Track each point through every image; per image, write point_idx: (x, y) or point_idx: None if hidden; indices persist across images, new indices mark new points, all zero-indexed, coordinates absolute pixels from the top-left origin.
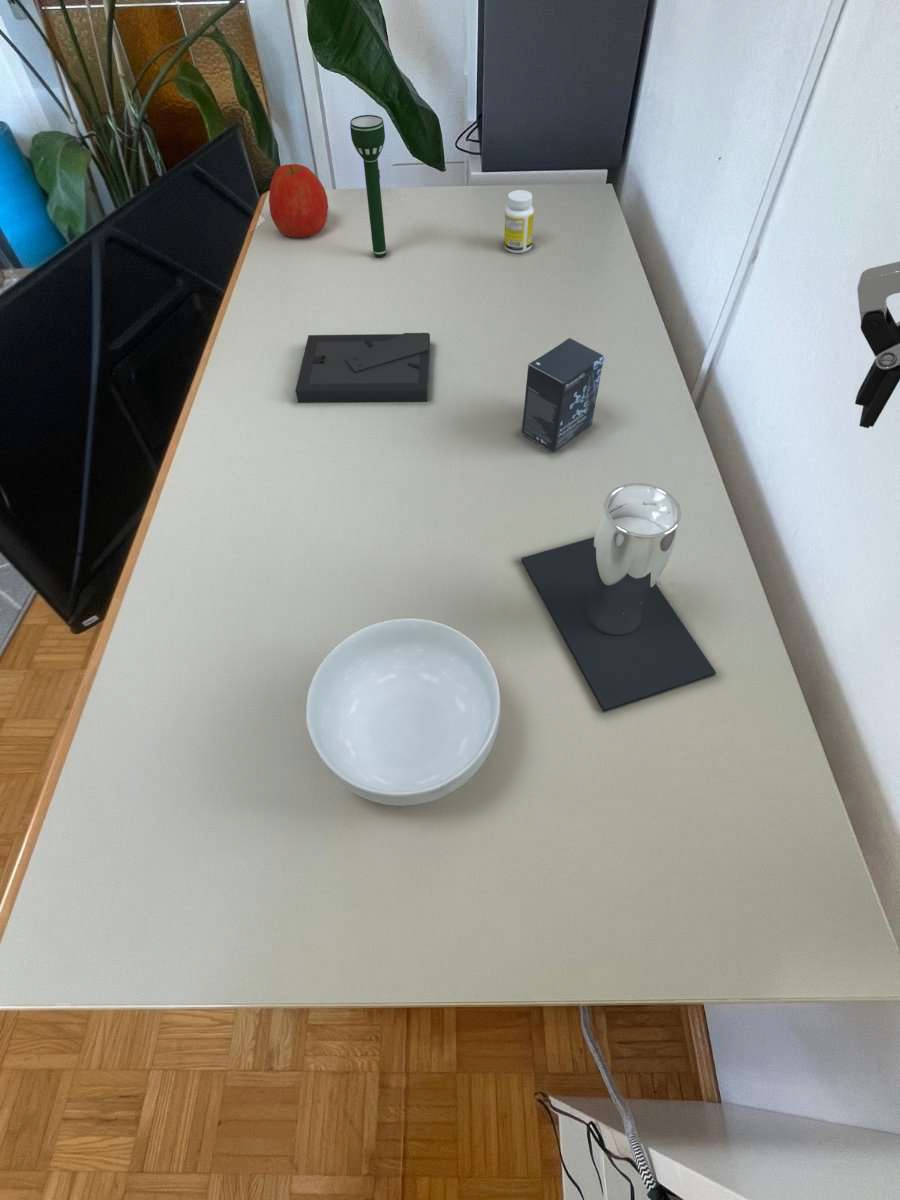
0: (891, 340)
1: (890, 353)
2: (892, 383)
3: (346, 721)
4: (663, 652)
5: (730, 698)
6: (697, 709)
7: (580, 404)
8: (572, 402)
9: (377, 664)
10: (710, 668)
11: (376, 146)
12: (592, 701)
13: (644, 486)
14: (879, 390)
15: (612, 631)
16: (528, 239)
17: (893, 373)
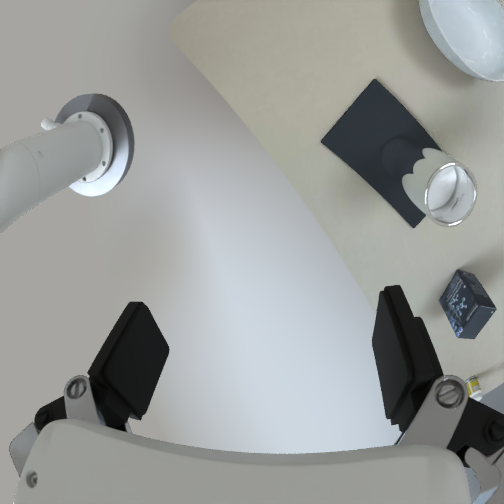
0: (457, 427)
1: (450, 406)
2: (416, 359)
3: (482, 24)
4: (358, 140)
5: (304, 129)
6: (320, 109)
7: (457, 304)
8: (464, 301)
9: (493, 59)
10: (325, 143)
11: None
12: (383, 84)
13: (454, 222)
14: (422, 340)
15: (396, 138)
16: (467, 385)
17: (426, 376)
